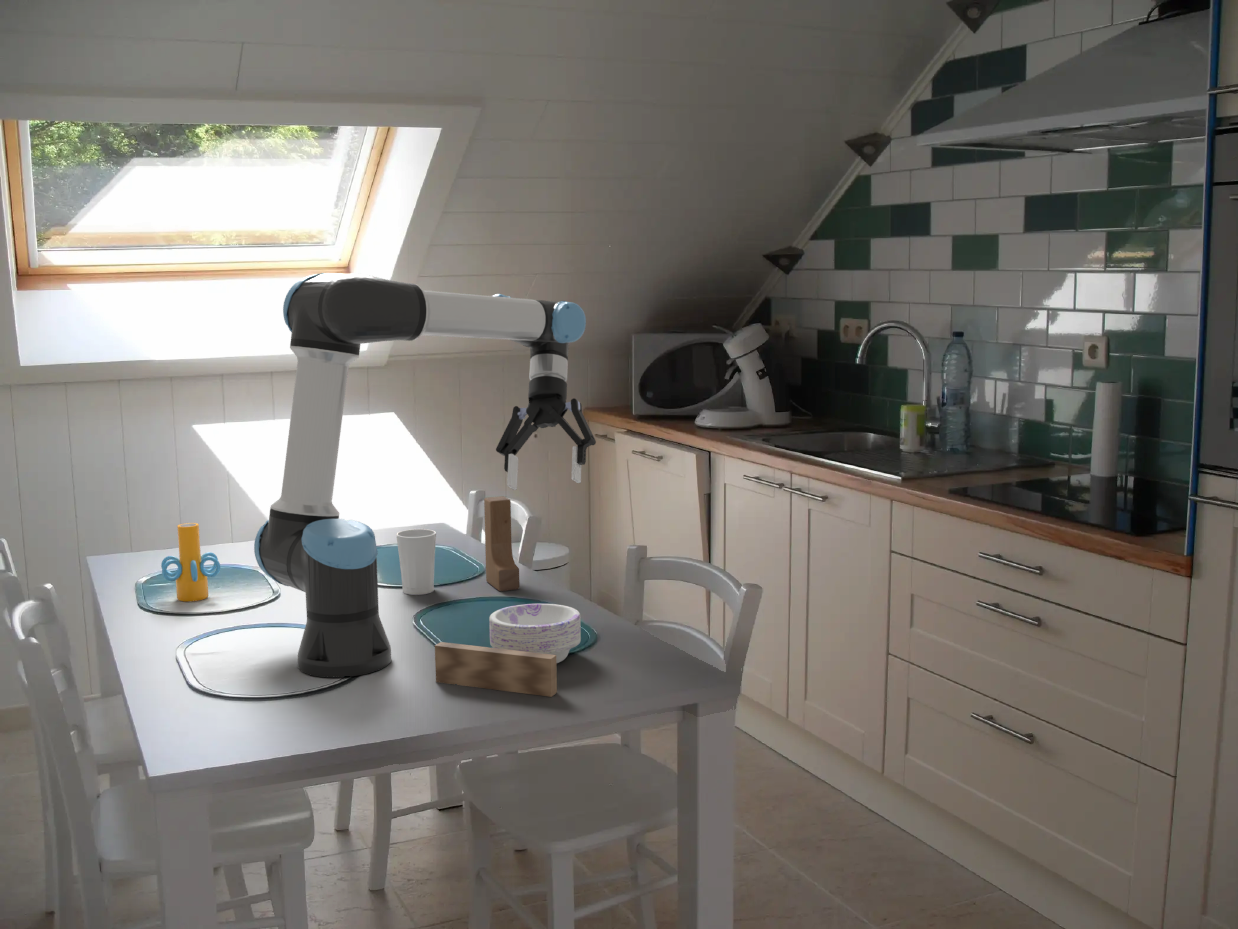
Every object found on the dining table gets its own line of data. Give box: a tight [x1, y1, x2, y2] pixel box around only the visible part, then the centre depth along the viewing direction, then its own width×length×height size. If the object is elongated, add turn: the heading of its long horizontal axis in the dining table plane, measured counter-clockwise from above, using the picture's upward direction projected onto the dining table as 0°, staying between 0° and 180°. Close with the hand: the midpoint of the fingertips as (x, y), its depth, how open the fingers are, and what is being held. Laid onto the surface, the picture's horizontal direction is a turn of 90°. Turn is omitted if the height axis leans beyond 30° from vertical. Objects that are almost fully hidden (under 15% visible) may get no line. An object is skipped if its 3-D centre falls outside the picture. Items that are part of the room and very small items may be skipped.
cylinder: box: [160, 522, 221, 603], centre depth 239 cm, size 12×10×15 cm
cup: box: [396, 528, 437, 596], centre depth 243 cm, size 8×8×12 cm
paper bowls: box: [488, 603, 582, 665], centre depth 200 cm, size 15×15×8 cm
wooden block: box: [483, 495, 520, 592], centre depth 246 cm, size 9×4×18 cm, turn 24°
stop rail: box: [434, 641, 558, 698], centre depth 186 cm, size 20×2×6 cm, turn 69°
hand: (543, 484), depth 228 cm, fingers open, 13 cm apart
